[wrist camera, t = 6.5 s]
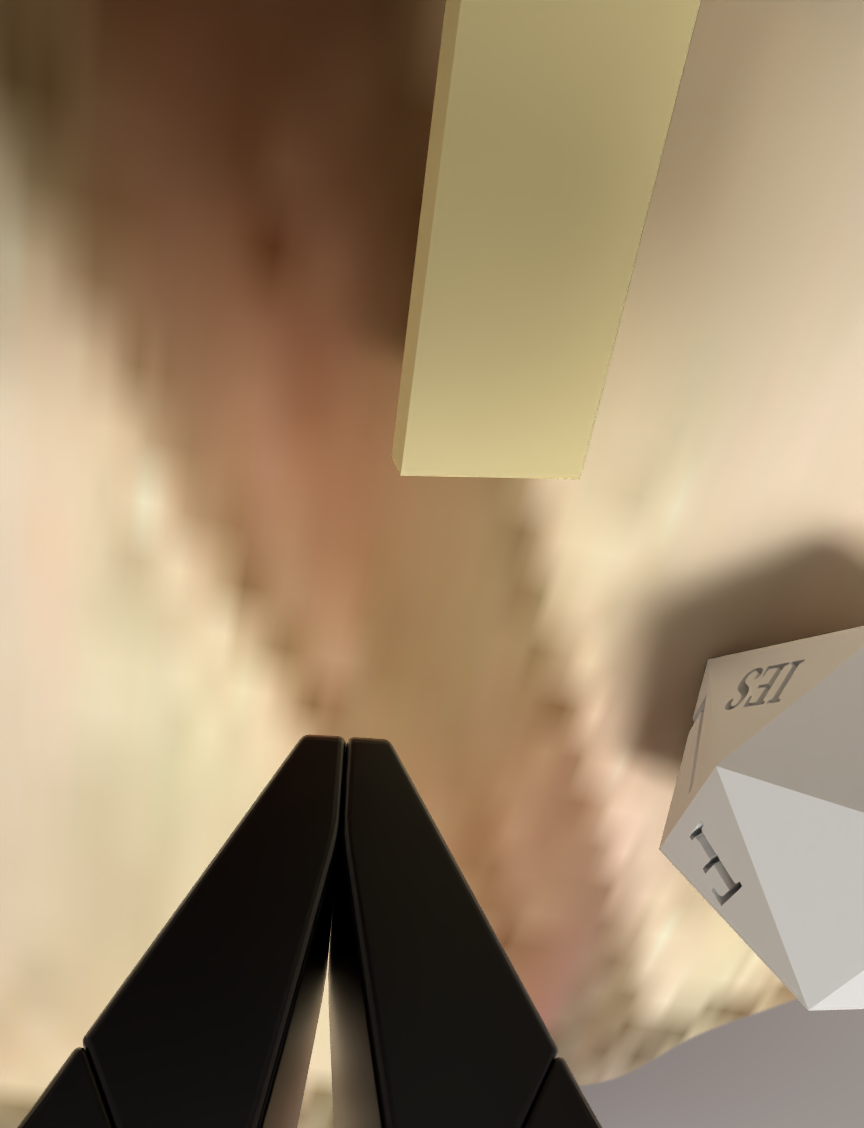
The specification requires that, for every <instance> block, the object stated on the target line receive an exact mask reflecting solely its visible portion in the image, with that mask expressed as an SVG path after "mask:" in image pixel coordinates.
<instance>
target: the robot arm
mask: <svg viewBox="0 0 864 1128" xmlns="http://www.w3.org/2000/svg"><path fill="white" fill-rule="evenodd" d="M345 751H346V752H345ZM331 922H332V923H331ZM330 932H331V936H330ZM329 943H330V950H329ZM328 953H329V972H328V981H329V1019H330V1044H331V1068H332V1092H333V1116H334V1128H602V1126H601V1124H600V1123H599V1121H598V1119H597V1117H596V1116H595V1114H594V1112H593V1111H592V1109H591V1107H590V1105H589V1103H588V1102H587V1100H586V1098H585V1096H584V1094H583V1093H582V1091H581V1089H580V1087H579V1085H578V1083H577V1081H576V1080H575V1078H574V1076H573V1074H572V1072H571V1070H570V1069H569V1067H568V1065H567V1063H566V1061H565V1060H564V1059H563V1058H560V1057H559V1058H556V1057H557V1054H558V1048H557V1046H556V1044H555V1042H554V1040H553V1038H552V1037H551V1035H550V1033H549V1031H548V1029H547V1027H546V1026H545V1024H544V1022H543V1020H542V1018H541V1016H540V1015H539V1013H538V1011H537V1009H536V1007H535V1005H534V1004H533V1002H532V1000H531V998H530V996H529V994H528V993H527V991H526V989H525V987H524V985H523V983H522V982H521V980H520V978H519V976H518V974H517V972H516V971H515V969H514V967H513V965H512V963H511V961H510V960H509V958H508V956H507V954H506V952H505V950H504V949H503V947H502V945H501V943H500V941H499V939H498V938H497V936H496V934H495V932H494V930H493V929H492V927H491V925H490V923H489V921H488V919H487V918H486V916H485V914H484V912H483V910H482V908H481V907H480V905H479V903H478V901H477V899H476V897H475V896H474V894H473V892H472V890H471V888H470V886H469V885H468V883H467V881H466V879H465V877H464V875H463V874H462V872H461V870H460V868H459V866H458V864H457V863H456V861H455V859H454V857H453V855H452V853H451V852H450V850H449V848H448V846H447V844H446V842H445V841H444V839H443V837H442V835H441V833H440V831H439V830H438V828H437V826H436V824H435V822H434V820H433V819H432V817H431V815H430V813H429V811H428V809H427V808H426V806H425V804H424V802H423V800H422V798H421V797H420V795H419V793H418V791H417V789H416V788H415V786H414V784H413V782H412V780H411V778H410V777H409V775H408V773H407V771H406V769H405V767H404V766H403V764H402V762H401V760H400V758H399V756H398V755H397V753H396V751H395V749H394V747H393V746H392V744H391V743H390V742H389V741H387V740H385V739H372V738H356V737H354V738H351V739H349V740H348V742H347V744H346V742H345V740H344V739H343V738H342V737H339V736H324V735H306V736H303V737H302V738H301V739H300V740H299V741H298V743H297V744H296V745H295V747H294V748H293V750H292V751H291V752H290V754H289V755H288V757H287V758H286V759H285V761H284V762H283V763H282V765H281V766H280V768H279V769H278V770H277V772H276V773H275V774H274V776H273V777H272V779H271V780H270V781H269V783H268V784H267V785H266V787H265V788H264V790H263V791H262V792H261V794H260V795H259V796H258V798H257V799H256V801H255V802H254V803H253V805H252V806H251V808H250V809H249V810H248V812H247V813H246V814H245V816H244V817H243V819H242V820H241V821H240V823H239V824H238V825H237V827H236V828H235V830H234V831H233V832H232V834H231V835H230V836H229V838H228V839H227V841H226V842H225V843H224V845H223V846H222V847H221V849H220V850H219V852H218V853H217V854H216V856H215V857H214V859H213V860H212V861H211V863H210V864H209V865H208V867H207V868H206V870H205V871H204V872H203V874H202V875H201V876H200V878H199V879H198V881H197V882H196V883H195V885H194V886H193V887H192V889H191V890H190V892H189V893H188V894H187V896H186V897H185V898H184V900H183V901H182V903H181V904H180V905H179V907H178V908H177V910H176V911H175V912H174V914H173V915H172V916H171V918H170V919H169V921H168V922H167V923H166V925H165V926H164V927H163V929H162V930H161V932H160V933H159V934H158V936H157V937H156V938H155V940H154V941H153V943H152V944H151V945H150V947H149V948H148V949H147V951H146V952H145V954H144V955H143V956H142V958H141V959H140V961H139V962H138V963H137V965H136V966H135V967H134V969H133V970H132V972H131V973H130V974H129V976H128V977H127V978H126V980H125V981H124V983H123V984H122V985H121V987H120V988H119V989H118V991H117V992H116V994H115V995H114V996H113V998H112V999H111V1000H110V1002H109V1003H108V1005H107V1006H106V1007H105V1009H104V1010H103V1012H102V1013H101V1014H100V1016H99V1017H98V1018H97V1020H96V1021H95V1023H94V1024H93V1025H92V1027H91V1028H90V1029H89V1031H88V1032H87V1034H86V1035H85V1036H84V1038H83V1047H84V1048H81V1047H79V1048H76V1049H75V1050H74V1051H73V1052H72V1053H71V1055H70V1056H69V1058H68V1059H67V1060H66V1062H65V1063H64V1064H63V1066H62V1067H61V1069H60V1070H59V1071H58V1073H57V1074H56V1076H55V1077H54V1078H53V1080H52V1081H51V1082H50V1084H49V1085H48V1087H47V1088H46V1089H45V1091H44V1092H43V1093H42V1095H41V1096H40V1098H39V1099H38V1100H37V1102H36V1103H35V1104H34V1106H33V1107H32V1108H31V1109H30V1111H29V1112H28V1113H27V1115H26V1116H25V1117H24V1119H23V1120H22V1121H21V1123H20V1124H19V1125H18V1126H17V1128H297V1125H298V1120H299V1115H300V1110H301V1105H302V1100H303V1095H304V1089H305V1084H306V1079H307V1074H308V1069H309V1064H310V1059H311V1054H312V1048H313V1043H314V1038H315V1033H316V1028H317V1023H318V1018H319V1013H320V1007H321V1002H322V996H323V990H324V984H325V978H326V971H327V962H328Z"/></svg>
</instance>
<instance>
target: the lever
mask: <svg viewBox="0 0 864 1128" xmlns="http://www.w3.org/2000/svg"><path fill="white" fill-rule="evenodd" d="M700 2H701V0H446V4H445V12H444V21H443V29H442V38H441V46H440V54H439V63H438V71H437V80H436V88H435V97H434V105H433V113H432V122H431V130H430V139H429V147H428V155H427V164H426V172H425V181H424V189H423V197H422V206H421V214H420V223H419V231H418V239H417V248H416V256H415V265H414V273H413V281H412V290H411V298H410V307H409V315H408V323H407V332H406V340H405V349H404V357H403V365H402V374H401V382H400V391H399V399H398V407H397V416H396V424H395V433H394V441H393V449H392V459H393V461H394V463H395V465H396V467H397V469H398V471H399V473H400V475H401V476H445V477H494V478H543V479H580V477H581V473H582V469H583V465H584V461H585V457H586V453H587V450H588V446H589V442H590V438H591V434H592V430H593V426H594V422H595V418H596V414H597V410H598V406H599V402H600V398H601V394H602V390H603V386H604V382H605V378H606V374H607V370H608V366H609V362H610V358H611V354H612V350H613V346H614V343H615V339H616V335H617V331H618V327H619V323H620V319H621V315H622V311H623V307H624V303H625V299H626V295H627V291H628V287H629V283H630V279H631V275H632V271H633V267H634V263H635V259H636V255H637V251H638V247H639V243H640V239H641V236H642V232H643V228H644V224H645V220H646V216H647V212H648V208H649V204H650V200H651V196H652V192H653V188H654V184H655V180H656V176H657V172H658V168H659V164H660V160H661V156H662V152H663V148H664V144H665V140H666V136H667V133H668V129H669V125H670V121H671V117H672V113H673V109H674V105H675V101H676V97H677V93H678V89H679V85H680V81H681V77H682V73H683V69H684V65H685V61H686V57H687V53H688V49H689V45H690V41H691V37H692V33H693V29H694V26H695V22H696V18H697V14H698V10H699V6H700Z"/></svg>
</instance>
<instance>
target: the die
mask: <svg viewBox="0 0 864 1128" xmlns="http://www.w3.org/2000/svg"><path fill="white" fill-rule="evenodd" d="M693 721H694V725H693V726H692V728H691V730H690V732H689V735H688V739H687V743H686V747H685V751H684V754H683V758H682V762H681V766H680V770H679V774H678V778H677V782H676V786H675V789H674V793H673V797H672V801H671V805H670V809H669V813H668V817H667V821H666V824H665V828H664V832H663V836H662V840H661V844H660V848H659V850H660V851H661V852H662V853H663V854H664V855H665V856H666V857H667V859H668V860H669V861H670V862H671V863H672V864H673V865H674V866H675V867H676V868H677V869H678V870H679V871H680V873H681V874H682V875H683V876H684V877H685V878H686V879H687V880H688V881H689V882H690V883H691V884H692V885H693V887H694V888H695V889H696V890H697V891H698V892H699V893H700V894H701V895H702V896H703V897H704V898H705V899H706V901H707V902H708V903H709V904H710V905H711V906H712V907H713V908H714V909H715V910H716V911H717V912H718V914H719V915H720V916H721V917H722V918H723V919H724V920H725V921H726V922H727V923H728V924H729V925H730V926H731V928H732V929H733V930H734V931H735V932H736V933H737V934H738V935H739V936H740V937H741V938H742V939H743V940H744V942H745V943H746V944H747V945H748V946H749V947H750V948H751V949H752V950H753V951H754V952H755V953H756V954H757V956H758V957H759V958H760V959H761V960H762V961H763V962H764V963H765V964H766V965H767V966H768V967H769V968H770V970H771V971H772V972H773V973H774V974H775V975H776V976H777V977H778V978H779V979H780V980H781V981H782V982H783V984H784V985H785V986H786V987H787V988H788V989H789V990H790V991H791V992H792V993H793V994H794V995H795V996H796V998H797V999H798V1000H799V1001H800V1002H801V1003H802V1004H803V1005H804V1006H805V1007H806V1008H807V1009H808V1010H841V1009H864V626H860V627H855V628H851V629H846V630H842V631H837V632H832V633H828V634H823V635H818V636H814V637H809V638H805V639H800V640H795V641H791V642H786V643H781V644H777V645H772V646H768V647H763V648H758V649H754V650H749V651H744V652H740V653H735V654H731V655H726V656H721V657H717V658H712V659H708V661H707V665H706V669H705V673H704V677H703V681H702V685H701V688H700V692H699V696H698V700H697V704H696V708H695V712H694V716H693Z"/></svg>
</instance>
